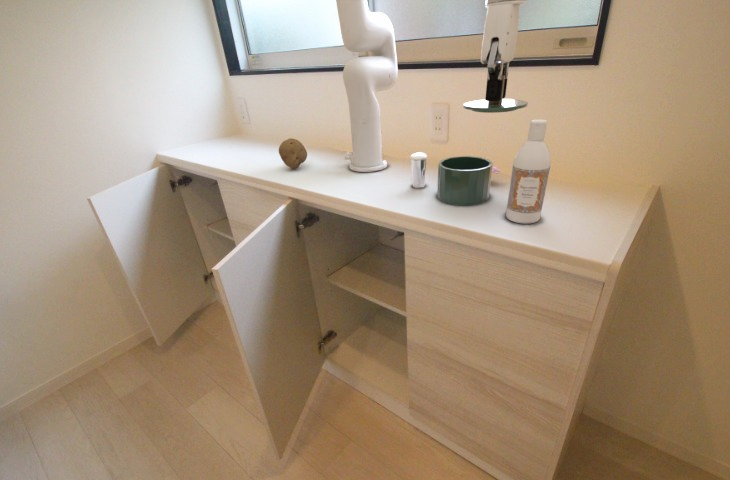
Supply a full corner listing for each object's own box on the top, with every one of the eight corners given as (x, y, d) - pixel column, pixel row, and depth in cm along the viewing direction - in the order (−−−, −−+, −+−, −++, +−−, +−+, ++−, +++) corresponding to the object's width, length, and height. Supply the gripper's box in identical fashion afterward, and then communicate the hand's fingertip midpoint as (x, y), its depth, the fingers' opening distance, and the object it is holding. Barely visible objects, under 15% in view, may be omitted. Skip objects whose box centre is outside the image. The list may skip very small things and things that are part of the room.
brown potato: (302, 163, 129) (298, 134, 124) (313, 168, 123) (309, 138, 117) (278, 168, 125) (272, 139, 120) (288, 174, 119) (283, 143, 113)
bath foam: (504, 222, 77) (518, 124, 67) (506, 210, 83) (519, 117, 72) (539, 226, 75) (560, 124, 65) (539, 213, 80) (558, 117, 70)
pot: (429, 201, 91) (430, 167, 86) (447, 185, 100) (449, 154, 95) (480, 208, 85) (483, 172, 80) (494, 191, 94) (498, 158, 89)
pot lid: (454, 113, 80) (456, 79, 76) (473, 104, 89) (476, 73, 86) (519, 114, 73) (524, 77, 70) (532, 104, 83) (537, 71, 80)
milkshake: (406, 184, 103) (406, 148, 98) (425, 183, 103) (426, 147, 97) (407, 189, 99) (407, 152, 94) (427, 188, 99) (428, 151, 94)
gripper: (497, 1, 79) (488, 94, 88) (473, -3, 67) (466, 105, 76) (534, -3, 75) (521, 94, 84) (516, -9, 63) (503, 105, 73)
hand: (495, 98), depth 80 cm, fingers closed on pot lid, 3 cm apart
